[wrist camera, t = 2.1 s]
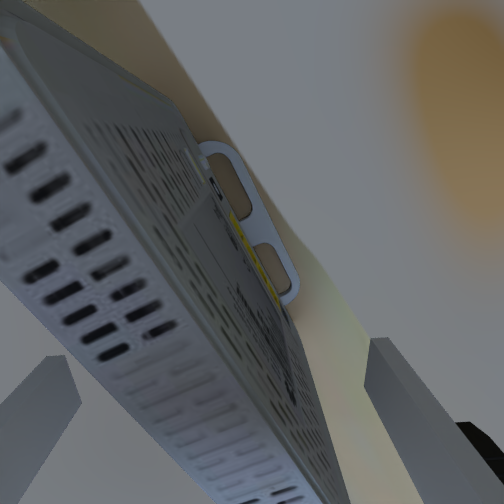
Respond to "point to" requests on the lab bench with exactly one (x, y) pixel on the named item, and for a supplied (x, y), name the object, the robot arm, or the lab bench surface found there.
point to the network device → (154, 270)
